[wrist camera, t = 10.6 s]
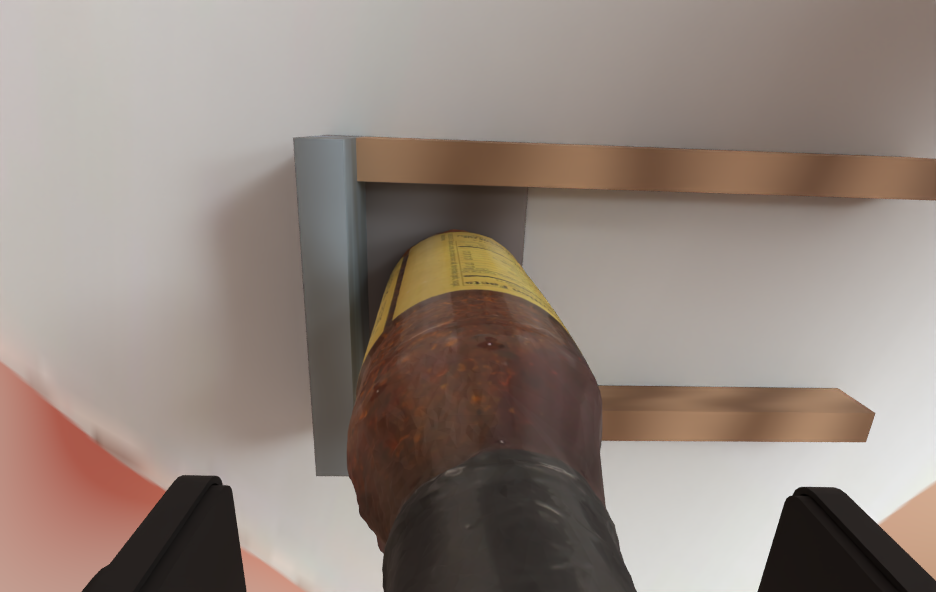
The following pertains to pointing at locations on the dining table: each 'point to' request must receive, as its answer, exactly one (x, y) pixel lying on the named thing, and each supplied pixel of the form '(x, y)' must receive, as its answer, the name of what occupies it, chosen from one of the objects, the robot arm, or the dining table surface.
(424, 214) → the wooden u-shaped frame
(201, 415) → the dining table surface
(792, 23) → the dining table surface
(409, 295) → the sauce bottle
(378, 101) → the dining table surface
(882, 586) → the robot arm
